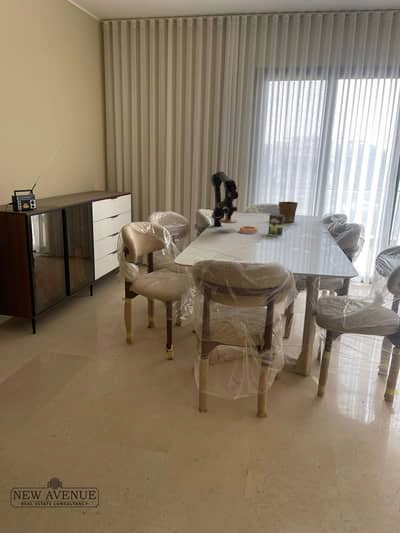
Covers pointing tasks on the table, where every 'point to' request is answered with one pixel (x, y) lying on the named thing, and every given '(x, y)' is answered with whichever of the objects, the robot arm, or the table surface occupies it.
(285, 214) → the plant pot
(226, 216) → the lid
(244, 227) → the bowl
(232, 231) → the mat
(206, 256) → the table surface
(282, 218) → the coffee can
